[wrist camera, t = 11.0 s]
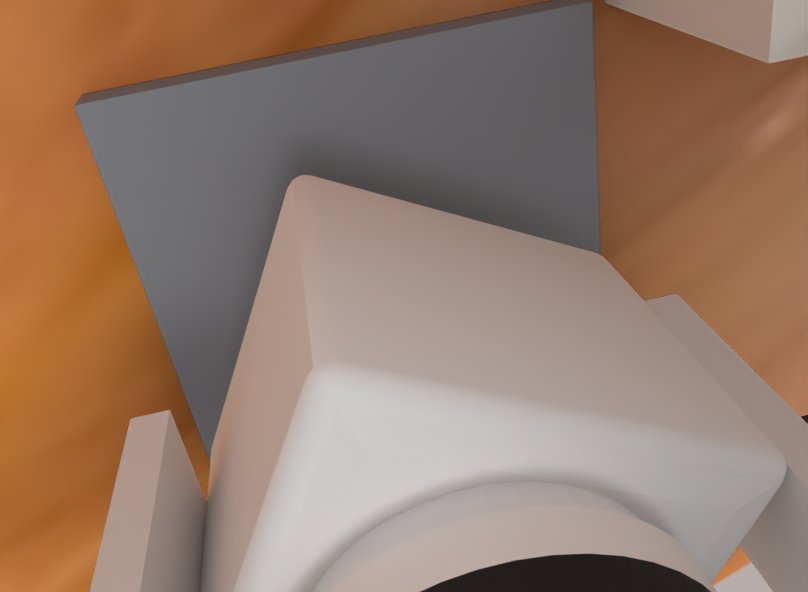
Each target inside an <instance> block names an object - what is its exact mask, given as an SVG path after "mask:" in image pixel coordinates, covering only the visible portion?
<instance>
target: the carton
mask: <svg viewBox="0 0 808 592" xmlns="http://www.w3.org/2000/svg"><path fill="white" fill-rule="evenodd" d="M605 3H606V4H609V5H611V6H614V7H617V8H619V9H622V10H625V11H628V12H630V13H633V14H636V15H638V16H641V17H644V18H646V19H649V20H652V21H655V22H657V23H660V24H663V25H665V26H668V27H671V28H673V29H676V30H679V31H682V32H684V33H687V34H690V35H692V36H695V37H698V38H700V39H703V40H706V41H709V42H711V43H714V44H717V45H719V46H722V47H725V48H727V49H730V50H733V51H736V52H738V53H741V54H744V55H746V56H749V57H752V58H754V59H757V60H760V61H763V62H765V63H768V64H769V63H774V62H779V61H784V60H789V59H793V58H798V57H803V56H808V0H605Z"/></svg>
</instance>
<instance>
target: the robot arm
mask: <svg viewBox="0 0 808 592" xmlns="http://www.w3.org/2000/svg"><path fill="white" fill-rule="evenodd" d="M645 302H646V303H647V305H648V306H649V307H650V308H651V309H652V310H653V311H654V312H655V313H656V314H657V316H658V317H659V318H660V319H661V320H662V321H663V322H664V323H665V324H666V325H667V327H668V328H669V329H670V330H671V331H672V332H673V333H674V334H675V335H676V336H677V338H678V339H679V340H680V341H681V342H682V343H683V344H684V345H685V346H686V347H687V349H688V350H689V351H690V352H691V353H692V354H693V355H694V356H695V357H696V358H697V359H698V361H699V362H700V363H701V364H702V365H703V366H704V367H705V368H706V369H707V370H708V372H709V373H710V374H711V375H712V376H713V377H714V378H715V379H716V380H717V381H718V383H719V384H720V385H721V386H722V387H723V388H724V389H725V390H726V391H727V392H728V394H729V395H730V396H731V397H732V398H733V399H734V400H735V401H736V402H737V403H738V405H739V406H740V407H741V408H742V409H743V410H744V411H745V412H746V413H747V414H748V415H749V417H750V418H751V419H752V420H753V421H754V422H755V423H756V424H757V425H758V426H759V428H760V429H761V430H762V431H763V432H764V433H765V434H766V435H767V436H768V437H769V439H770V440H771V441H772V442H773V443H774V444H775V445H776V446H777V447H778V448H779V450H780V451H781V453H782V455H783V457H784V459H785V462H786V465H787V472H786V474H785V477H784V480H783V482H782V484H781V485H780V487H779V488H778V490H777V491H776V493H775V494H774V495H773V497H772V498H771V500H770V501H769V503H768V504H767V505H766V507H765V508H764V510H763V511H762V513H761V514H760V515H759V517H758V518H757V520H756V521H755V522H754V524H753V525H752V527H751V528H750V530H749V531H748V532H747V534H746V535H745V537H744V538H743V540H742V541H741V542H740V544H739V545H740V546H741V548H742V549H743V550H744V552H745V553H746V555H747V556H748V557H749V559H750V560H751V562H752V563H753V564H754V566H755V567H756V568H757V570H758V571H759V573H760V574H761V575H762V577H763V578H764V580H765V581H766V582H767V584H768V585H769V587H770V588H771V589H772V591H773V592H808V415H806V416H802V417H800V416H799V415H798V414H797V413H796V412H795V411H794V410H793V409H792V408H791V407H790V406H789V405H788V404H787V403H786V402H785V401H784V400H783V399H782V398H781V397H780V396H779V395H778V394H777V393H776V392H775V391H774V390H773V389H772V388H771V387H770V386H769V385H768V384H767V383H766V382H765V381H764V380H763V379H762V378H761V377H760V376H759V375H758V374H757V373H756V372H755V371H754V370H753V369H752V368H751V367H750V366H749V365H748V364H747V363H746V362H745V361H744V360H743V359H742V358H741V357H740V356H739V355H738V354H737V353H736V352H735V351H734V350H733V349H732V348H731V347H730V346H729V345H728V344H727V343H726V342H725V341H724V340H723V339H722V338H721V337H720V336H719V335H718V334H717V333H716V332H715V331H714V330H713V329H712V328H711V327H710V326H709V325H708V324H707V323H706V322H705V321H704V320H703V319H702V318H701V317H700V316H699V315H698V314H697V313H696V312H695V311H694V310H693V309H692V308H691V307H690V306H689V305H688V304H687V303H686V302H685V301H684V300H683V299H682V298H681V297H680V296H679V295H678V294H672V295H668V296H664V297H659V298H655V299H651V300H646V301H645ZM206 511H207V501H206V499H205V496H204V494H203V491H202V489H201V486H200V484H199V481H198V479H197V476H196V474H195V471H194V469H193V466H192V464H191V461H190V459H189V456H188V454H187V451H186V449H185V446H184V444H183V441H182V439H181V436H180V434H179V431H178V429H177V426H176V424H175V421H174V419H173V416H172V414H171V411H170V410H166V411H162V412H158V413H153V414H149V415H145V416H140V417H136V418H131V419H130V423H129V427H128V431H127V435H126V440H125V444H124V448H123V452H122V457H121V461H120V465H119V469H118V474H117V478H116V482H115V486H114V490H113V495H112V499H111V503H110V507H109V512H108V516H107V520H106V524H105V529H104V533H103V537H102V541H101V546H100V550H99V554H98V558H97V563H96V567H95V571H94V575H93V580H92V584H91V588H90V592H200V585H201V572H202V560H203V548H204V535H205V523H206Z"/></svg>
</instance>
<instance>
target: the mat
mask: <svg viewBox="0 0 808 592" xmlns="http://www.w3.org/2000/svg"><path fill="white" fill-rule="evenodd" d="M74 107H75V109H76V112H77V114H78V117H79V120H80V122H81V125H82V127H83V130H84V133H85V135H86V138H87V141H88V143H89V146H90V148H91V151H92V154H93V156H94V159H95V161H96V164H97V167H98V169H99V172H100V175H101V177H102V180H103V182H104V185H105V188H106V190H107V193H108V196H109V198H110V201H111V203H112V206H113V209H114V211H115V214H116V216H117V219H118V222H119V224H120V227H121V230H122V232H123V235H124V237H125V240H126V243H127V245H128V248H129V250H130V253H131V256H132V258H133V261H134V264H135V266H136V269H137V271H138V274H139V277H140V279H141V282H142V284H143V287H144V290H145V292H146V295H147V298H148V300H149V303H150V305H151V308H152V311H153V313H154V316H155V318H156V321H157V324H158V326H159V329H160V332H161V334H162V337H163V339H164V342H165V345H166V347H167V350H168V352H169V355H170V358H171V360H172V363H173V366H174V368H175V371H176V373H177V376H178V379H179V381H180V384H181V386H182V389H183V392H184V394H185V397H186V400H187V402H188V405H189V407H190V410H191V413H192V415H193V418H194V420H195V423H196V426H197V428H198V431H199V434H200V436H201V439H202V441H203V444H204V447H205V449H206V452H207V454H208V457H209V460H210V462H211V449H212V445H213V441H214V438H215V435H216V431H217V428H218V424H219V421H220V417H221V414H222V410H223V407H224V404H225V400H226V397H227V393H228V390H229V386H230V383H231V380H232V376H233V373H234V369H235V366H236V362H237V359H238V356H239V352H240V349H241V345H242V342H243V338H244V335H245V332H246V328H247V325H248V321H249V318H250V314H251V311H252V307H253V304H254V301H255V297H256V294H257V290H258V287H259V283H260V280H261V277H262V273H263V270H264V266H265V263H266V259H267V256H268V253H269V249H270V246H271V242H272V239H273V235H274V232H275V229H276V225H277V222H278V218H279V215H280V211H281V208H282V204H283V201H284V198H285V194H286V191H287V188H288V187H289V185H290V183H291V182H292V180H293V179H295V178H297V177H299V176H300V175H311V176H315V177H319V178H322V179H326V180H330V181H333V182H337V183H341V184H345V185H348V186H352V187H356V188H359V189H363V190H367V191H370V192H374V193H378V194H381V195H385V196H389V197H392V198H396V199H400V200H403V201H407V202H411V203H414V204H418V205H422V206H425V207H429V208H433V209H437V210H440V211H444V212H448V213H451V214H455V215H459V216H462V217H466V218H470V219H473V220H477V221H481V222H484V223H488V224H492V225H495V226H499V227H503V228H506V229H510V230H514V231H517V232H521V233H525V234H528V235H532V236H536V237H540V238H543V239H547V240H551V241H554V242H558V243H562V244H565V245H569V246H573V247H576V248H580V249H584V250H587V251H591V252H595V253H597V254H599V255H600V226H599V195H598V165H597V134H596V103H595V72H594V41H593V10H592V1H589V0H553V1H548V2H543V3H538V4H533V5H528V6H523V7H518V8H513V9H508V10H503V11H498V12H493V13H488V14H483V15H478V16H473V17H468V18H463V19H458V20H453V21H448V22H443V23H438V24H433V25H428V26H423V27H418V28H413V29H408V30H403V31H398V32H393V33H388V34H383V35H378V36H373V37H368V38H363V39H358V40H353V41H348V42H343V43H338V44H333V45H328V46H323V47H318V48H313V49H308V50H303V51H298V52H293V53H288V54H283V55H278V56H273V57H268V58H263V59H258V60H253V61H248V62H243V63H238V64H233V65H228V66H223V67H218V68H213V69H208V70H203V71H198V72H193V73H188V74H183V75H178V76H173V77H168V78H163V79H158V80H153V81H148V82H143V83H138V84H133V85H128V86H123V87H118V88H113V89H108V90H103V91H98V92H93V93H88V94H83V95H82V96H81V98H80V99H79V100H78V101H77V103H76V104H75V105H74Z"/></svg>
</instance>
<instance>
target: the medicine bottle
mask: <svg viewBox="0 0 808 592" xmlns="http://www.w3.org/2000/svg"><path fill="white" fill-rule="evenodd" d="M786 472H787V465H786V462H785V459H784V457H783V455H782V453H781V451H780V450H779V448H778V447H777V446H776V445H775V444H774V443H773V442H772V441H771V440H770V439H769V437H768V436H767V435H766V434H765V433H764V432H763V431H762V430H761V429H760V428H759V426H758V425H757V424H756V423H755V422H754V421H753V420H752V419H751V418H750V417H749V415H748V414H747V413H746V412H745V411H744V410H743V409H742V408H741V407H740V406H739V405H738V403H737V402H736V401H735V400H734V399H733V398H732V397H731V396H730V395H729V394H728V392H727V391H726V390H725V389H724V388H723V387H722V386H721V385H720V384H719V383H718V381H717V380H716V379H715V378H714V377H713V376H712V375H711V374H710V373H709V372H708V370H707V369H706V368H705V367H704V366H703V365H702V364H701V363H700V362H699V361H698V359H697V358H696V357H695V356H694V355H693V354H692V353H691V352H690V351H689V350H688V349H687V347H686V346H685V345H684V344H683V343H682V342H681V341H680V340H679V339H678V338H677V336H676V335H675V334H674V333H673V332H672V331H671V330H670V329H669V328H668V327H667V325H666V324H665V323H664V322H663V321H662V320H661V319H660V318H659V317H658V316H657V314H656V313H655V312H654V311H653V310H652V309H651V308H650V307H649V306H648V305H647V303H646V302H645V301H644V300H643V299H642V298H641V297H640V296H639V295H638V294H637V293H636V291H635V290H634V289H633V288H632V287H631V286H630V285H629V284H628V283H627V282H626V280H625V279H624V278H623V277H622V276H621V275H620V274H619V273H618V272H617V271H616V269H615V268H614V267H613V266H612V265H611V264H610V263H609V262H608V261H607V260H606V258H604V257H603V256H601V255H599V254H597V253H595V252H591V251H587V250H584V249H580V248H576V247H573V246H569V245H565V244H562V243H558V242H554V241H551V240H547V239H543V238H540V237H536V236H532V235H528V234H525V233H521V232H517V231H514V230H510V229H506V228H503V227H499V226H495V225H492V224H488V223H484V222H481V221H477V220H473V219H470V218H466V217H462V216H459V215H455V214H451V213H448V212H444V211H440V210H437V209H433V208H429V207H425V206H422V205H418V204H414V203H411V202H407V201H403V200H400V199H396V198H392V197H389V196H385V195H381V194H378V193H374V192H370V191H367V190H363V189H359V188H356V187H352V186H348V185H345V184H341V183H337V182H333V181H330V180H326V179H322V178H319V177H315V176H311V175H300V176H299V177H297V178H295V179H293V180H292V182H291V183H290V185H289V187H288V188H287V191H286V194H285V198H284V201H283V204H282V208H281V211H280V215H279V218H278V222H277V225H276V229H275V232H274V235H273V239H272V242H271V246H270V249H269V253H268V256H267V259H266V263H265V266H264V270H263V273H262V277H261V280H260V283H259V287H258V290H257V294H256V297H255V301H254V304H253V307H252V311H251V314H250V318H249V321H248V325H247V328H246V332H245V335H244V338H243V342H242V345H241V349H240V352H239V356H238V359H237V362H236V366H235V369H234V373H233V376H232V380H231V383H230V386H229V390H228V393H227V397H226V400H225V404H224V407H223V410H222V414H221V417H220V421H219V424H218V428H217V431H216V435H215V438H214V441H213V445H212V449H211V462H210V474H209V486H208V499H207V511H206V523H205V535H204V548H203V560H202V572H201V585H200V592H716V590H715V589H714V587H713V585H712V582H713V581H714V579H715V578H716V577H717V575H718V574H719V572H720V571H721V569H722V568H723V567H724V565H725V564H726V562H727V561H728V560H729V558H730V557H731V555H732V554H733V552H734V551H735V550H736V548H737V547H738V545H739V544H740V542H741V541H742V540H743V538H744V537H745V535H746V534H747V532H748V531H749V530H750V528H751V527H752V525H753V524H754V522H755V521H756V520H757V518H758V517H759V515H760V514H761V513H762V511H763V510H764V508H765V507H766V505H767V504H768V503H769V501H770V500H771V498H772V497H773V495H774V494H775V493H776V491H777V490H778V488H779V487H780V485H781V484H782V482H783V480H784V477H785V474H786Z"/></svg>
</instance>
